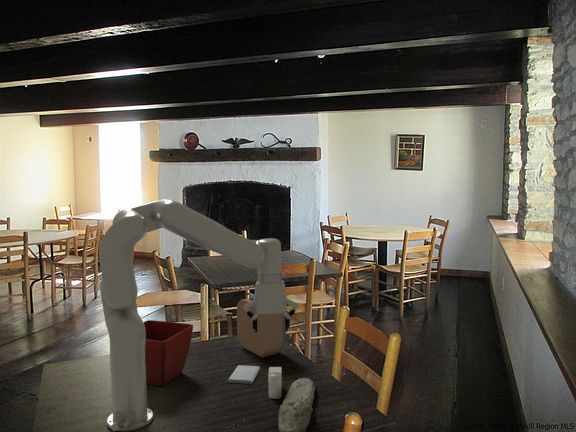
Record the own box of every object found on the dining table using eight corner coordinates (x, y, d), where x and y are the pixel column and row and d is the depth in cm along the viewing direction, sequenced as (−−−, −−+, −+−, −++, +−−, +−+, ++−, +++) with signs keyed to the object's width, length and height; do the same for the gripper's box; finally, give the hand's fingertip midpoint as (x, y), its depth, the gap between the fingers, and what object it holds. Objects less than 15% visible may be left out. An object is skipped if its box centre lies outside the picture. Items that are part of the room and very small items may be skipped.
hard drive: (251, 380, 170) (260, 365, 182) (228, 379, 172) (237, 364, 184) (251, 385, 170) (260, 370, 183) (228, 383, 172) (237, 369, 184)
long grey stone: (320, 389, 169) (290, 389, 170) (319, 374, 169) (289, 374, 170) (309, 441, 134) (272, 440, 136) (308, 421, 134) (271, 420, 135)
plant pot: (149, 363, 188) (148, 318, 187) (195, 370, 182) (194, 324, 180) (116, 384, 170) (114, 335, 169) (165, 392, 164) (164, 341, 162)
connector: (281, 398, 159) (281, 377, 158) (268, 398, 159) (268, 377, 158) (281, 383, 170) (281, 363, 169) (269, 383, 170) (269, 363, 169)
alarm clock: (286, 355, 195) (286, 300, 192) (266, 361, 189) (265, 304, 187) (257, 341, 211) (256, 289, 209) (237, 346, 205) (236, 293, 203)
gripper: (296, 274, 165) (297, 325, 167) (242, 276, 164) (244, 327, 166) (297, 279, 158) (299, 333, 159) (241, 281, 157) (243, 335, 159)
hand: (271, 330), depth 163 cm, fingers open, 9 cm apart
